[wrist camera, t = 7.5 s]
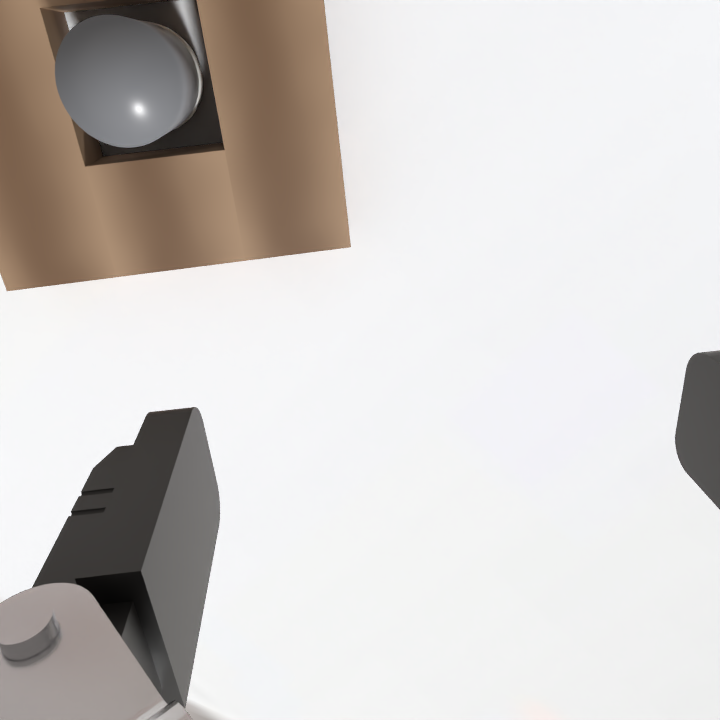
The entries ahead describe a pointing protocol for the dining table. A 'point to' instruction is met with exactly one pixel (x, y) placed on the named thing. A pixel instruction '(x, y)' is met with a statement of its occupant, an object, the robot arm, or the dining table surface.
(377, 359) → the dining table surface
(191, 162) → the end holder
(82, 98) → the connector plug
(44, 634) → the robot arm
